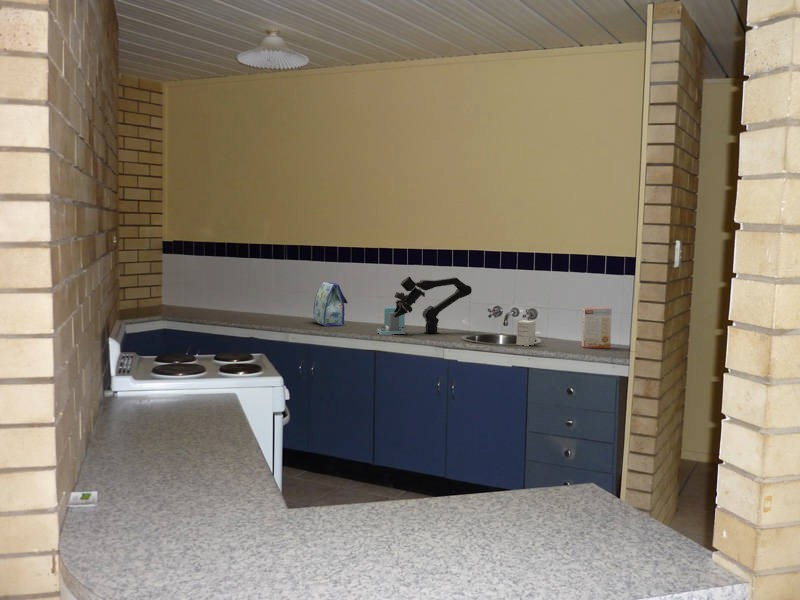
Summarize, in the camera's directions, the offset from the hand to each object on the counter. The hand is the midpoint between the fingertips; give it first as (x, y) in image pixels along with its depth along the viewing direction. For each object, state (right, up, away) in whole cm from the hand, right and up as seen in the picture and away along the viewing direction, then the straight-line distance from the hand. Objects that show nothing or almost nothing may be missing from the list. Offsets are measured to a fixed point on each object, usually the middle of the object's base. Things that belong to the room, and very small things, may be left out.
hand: (393, 316), depth 452 cm
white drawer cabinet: (+70, -14, -33) cm, 79 cm away
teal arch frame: (0, -7, +32) cm, 32 cm away
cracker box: (+105, -15, -38) cm, 113 cm away
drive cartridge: (0, -8, +1) cm, 8 cm away
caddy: (-2, -10, +1) cm, 10 cm away
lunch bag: (-40, -6, +41) cm, 58 cm away
